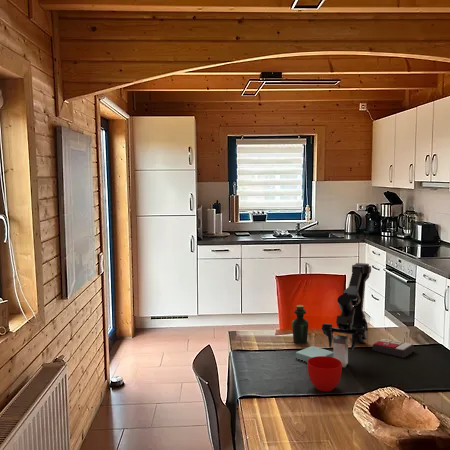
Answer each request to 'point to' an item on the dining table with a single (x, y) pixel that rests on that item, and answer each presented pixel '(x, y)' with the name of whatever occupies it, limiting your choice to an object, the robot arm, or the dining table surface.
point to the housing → (341, 349)
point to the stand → (312, 353)
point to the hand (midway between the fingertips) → (340, 349)
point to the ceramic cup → (324, 372)
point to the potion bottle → (300, 326)
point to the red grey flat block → (393, 347)
